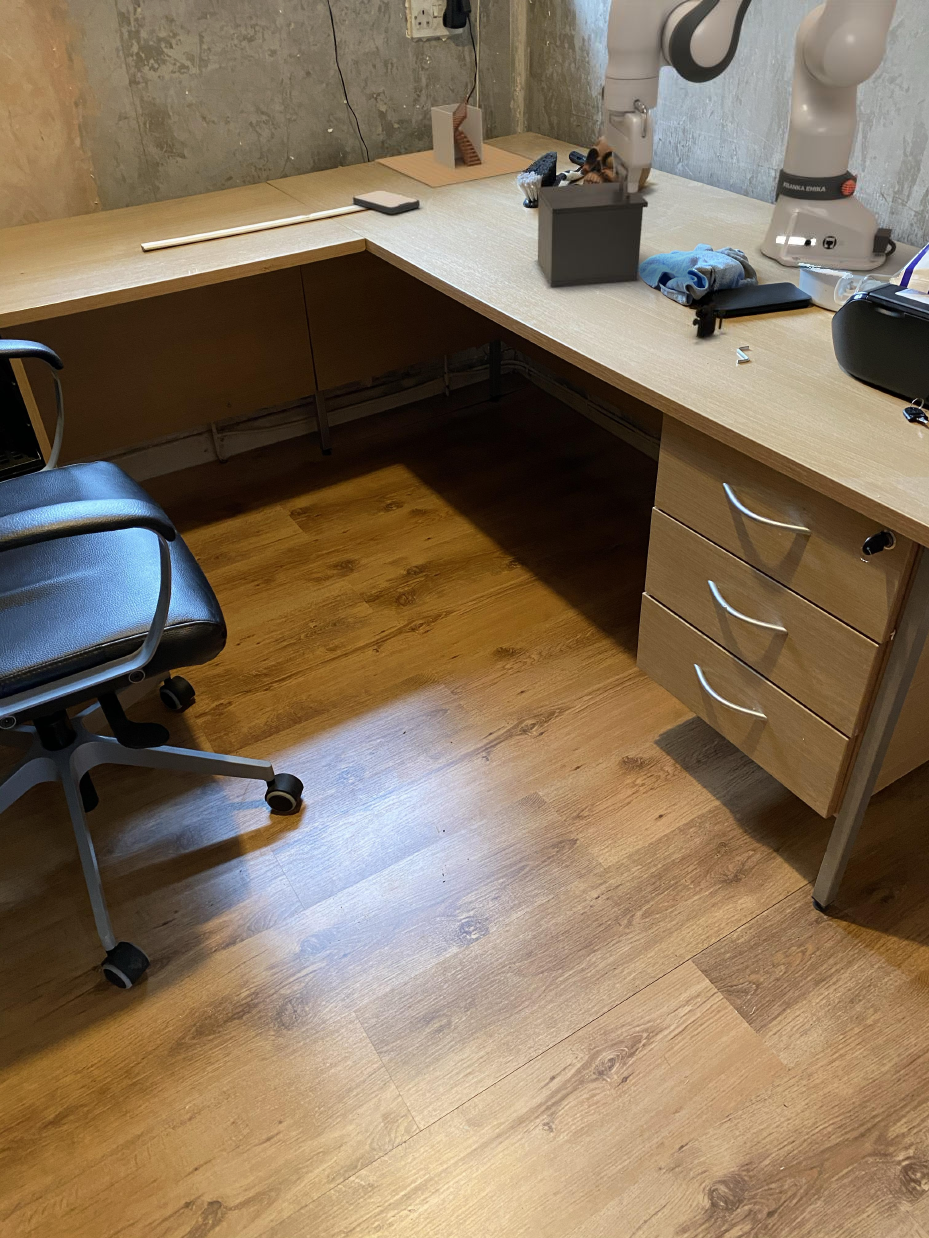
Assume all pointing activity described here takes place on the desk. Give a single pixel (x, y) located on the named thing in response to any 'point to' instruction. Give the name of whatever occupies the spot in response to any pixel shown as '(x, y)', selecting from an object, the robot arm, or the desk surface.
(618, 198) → the bin lid
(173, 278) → the desk surface
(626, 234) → the waste bin
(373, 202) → the phone case
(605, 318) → the desk surface
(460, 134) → the staircase
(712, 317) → the black knobbed bracket
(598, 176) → the brown skull
